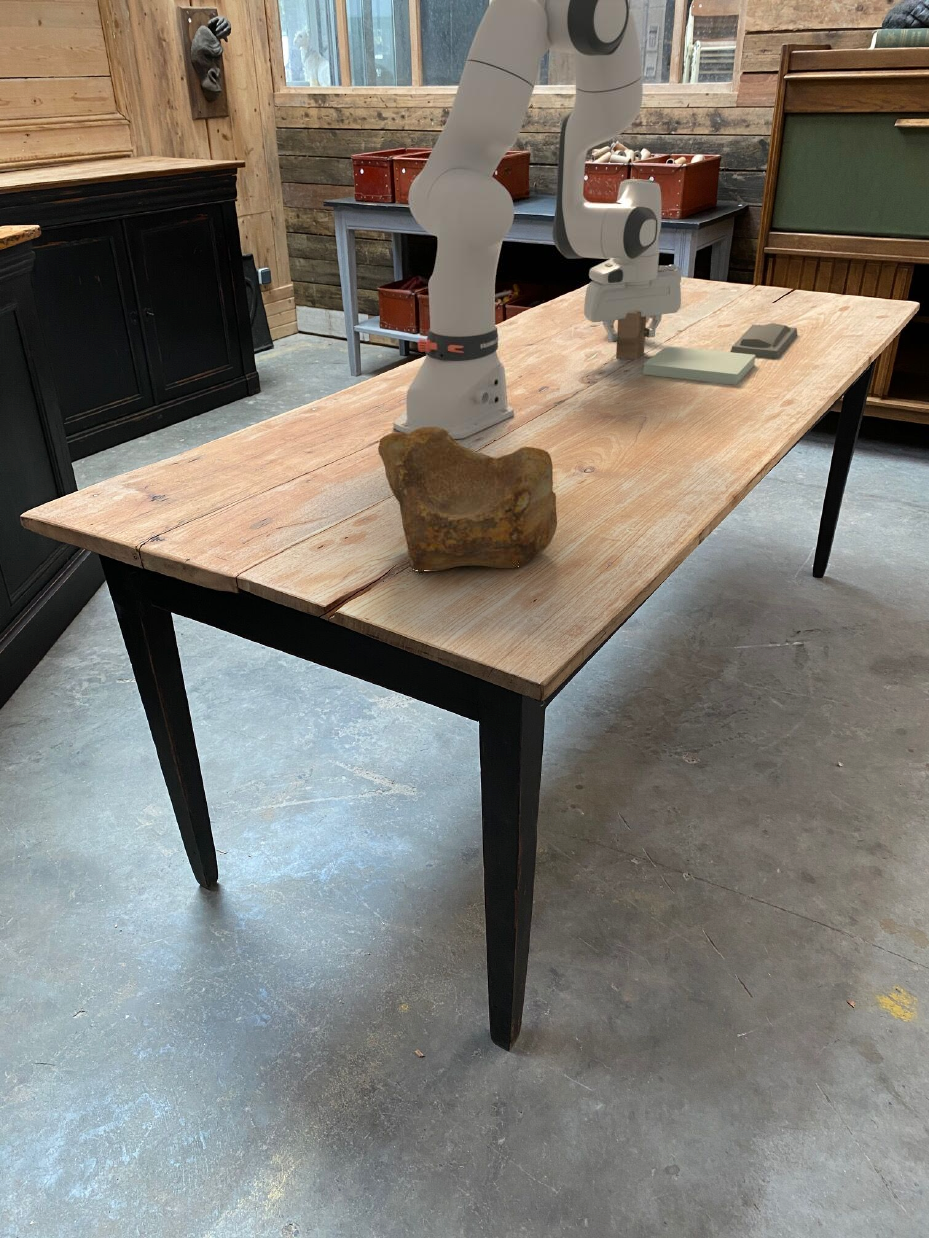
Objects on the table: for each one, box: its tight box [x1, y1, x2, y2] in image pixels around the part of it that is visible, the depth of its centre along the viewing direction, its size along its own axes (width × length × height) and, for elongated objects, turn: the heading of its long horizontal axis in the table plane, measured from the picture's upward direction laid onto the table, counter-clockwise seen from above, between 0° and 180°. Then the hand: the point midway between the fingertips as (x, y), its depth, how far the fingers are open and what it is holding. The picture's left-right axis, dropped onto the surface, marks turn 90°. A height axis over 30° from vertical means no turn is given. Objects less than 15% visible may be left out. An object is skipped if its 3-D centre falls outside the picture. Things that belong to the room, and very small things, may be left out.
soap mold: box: [729, 322, 798, 359], centre depth 197 cm, size 10×20×4 cm, turn 152°
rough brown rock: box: [377, 427, 558, 571], centre depth 114 cm, size 23×16×15 cm
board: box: [642, 345, 756, 386], centre depth 183 cm, size 14×18×2 cm
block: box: [615, 311, 647, 360], centre depth 191 cm, size 6×4×9 cm, turn 153°
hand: (631, 339), depth 192 cm, fingers closed on block, 7 cm apart
